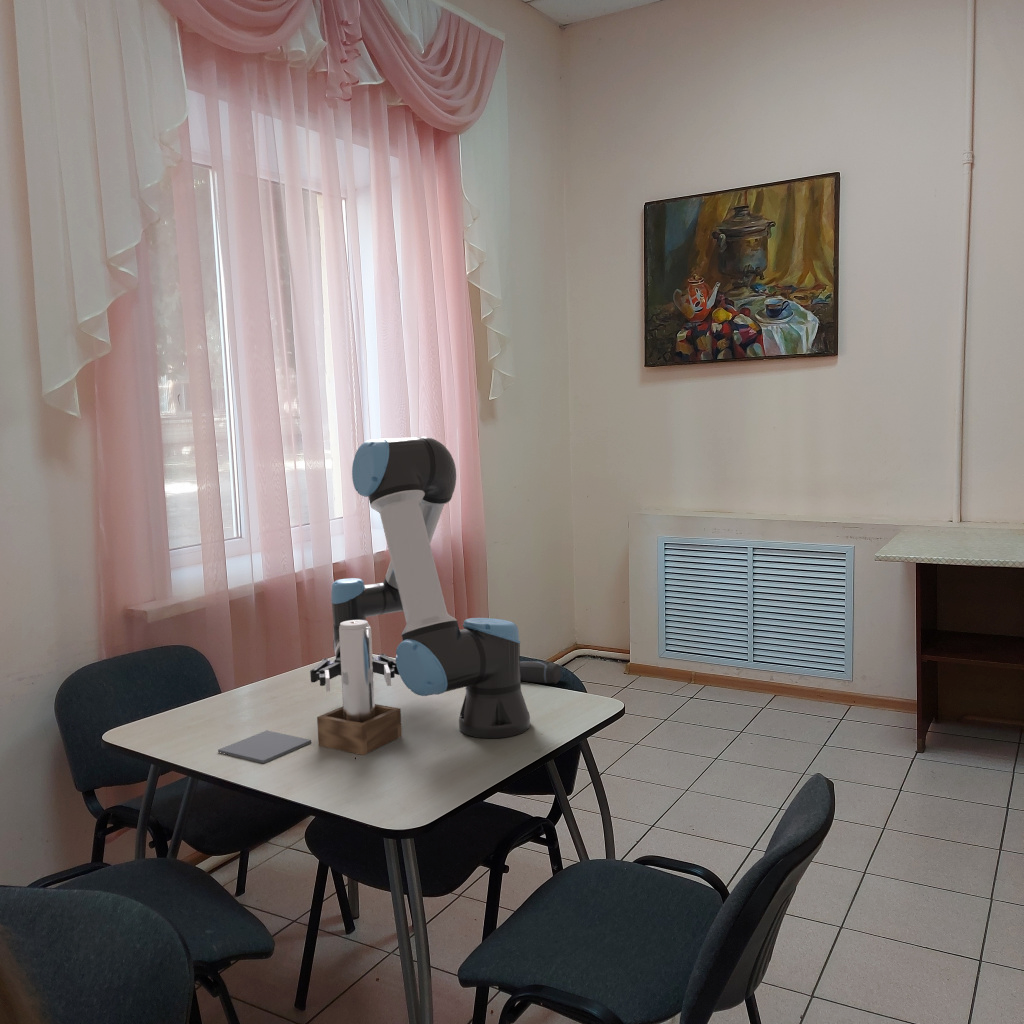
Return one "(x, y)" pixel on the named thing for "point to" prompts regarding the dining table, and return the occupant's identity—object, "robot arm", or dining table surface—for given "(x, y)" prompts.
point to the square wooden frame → (359, 730)
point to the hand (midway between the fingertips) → (358, 682)
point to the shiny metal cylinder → (357, 670)
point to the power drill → (539, 672)
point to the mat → (264, 746)
